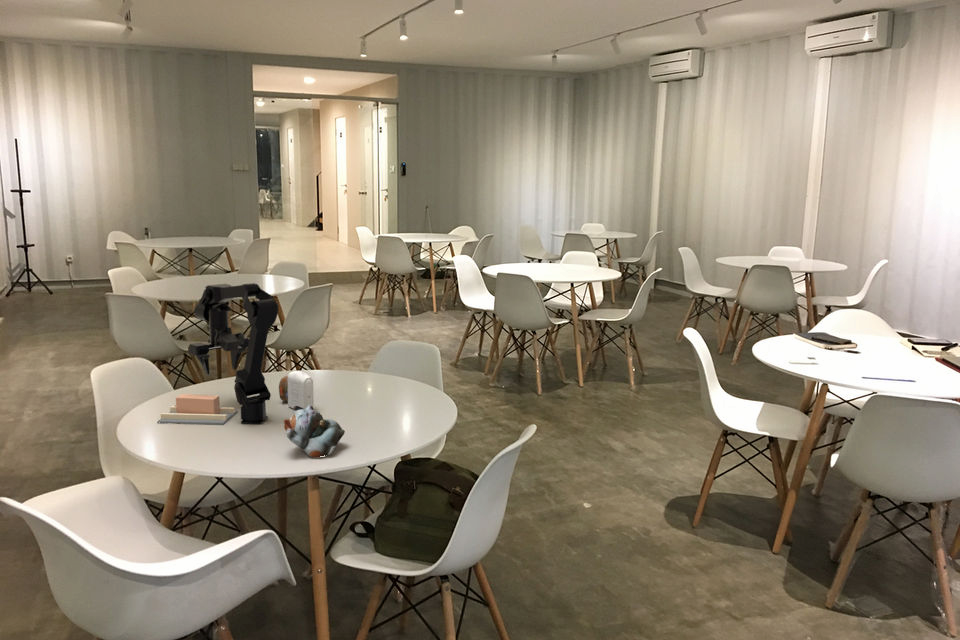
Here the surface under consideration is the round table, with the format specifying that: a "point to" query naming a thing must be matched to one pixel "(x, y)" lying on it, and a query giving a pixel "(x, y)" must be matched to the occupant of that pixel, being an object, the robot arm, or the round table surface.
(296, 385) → the photo printer
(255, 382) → the robot arm
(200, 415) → the slot mat
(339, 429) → the lucky cat figurine
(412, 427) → the round table surface
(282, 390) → the tin
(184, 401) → the pink rectangular brick
